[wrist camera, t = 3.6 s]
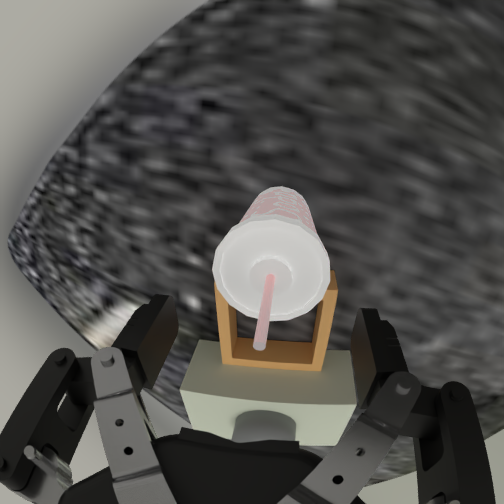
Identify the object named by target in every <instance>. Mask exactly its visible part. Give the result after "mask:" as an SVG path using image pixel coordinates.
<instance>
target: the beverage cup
mask: <svg viewBox="0 0 504 504" xmlns="http://www.w3.org/2000/svg"><path fill="white" fill-rule="evenodd" d="M212 271H213V275H214V279H215V282H216V286H217V289H218V290H219V292H220V293H221V294H222V296H223V297H224V298H225V300H226V301H227V302H228V303H229V305H231V306H232V307H234V308H235V309H237V310H238V311H240V312H242V313H243V314H245V315H246V316H249V317H253V318H257V319H258V322H257V327H256V332H255V338H254V343H253V347H254V349H256V350H259V351H261V350H264V349H265V347H266V341H267V334H268V327H269V321H281V320H290V319H292V318H295V317H298V316H300V315H303V314H305V313H308V312H309V311H310V310H311V309H312V308H313V307H314V306H315V305H316V304H318V303H319V302H320V301H321V300H322V299H323V296H324V294H325V292H326V290H327V287H328V285H329V283H330V260H329V257H328V253H327V251H326V249H325V247H324V246H323V244H322V242H321V240H320V238H319V236H318V235H317V232H316V229H315V226H314V223H313V220H312V216H311V213H310V210H309V207H308V205H307V203H306V201H305V200H304V198H303V196H301V195H300V194H299V193H297V192H296V191H295V190H293V189H290V188H286V187H283V186H281V187H272V188H269V189H267V190H265V191H263V192H262V193H260V194H259V195H258V197H257V198H256V199H255V201H254V202H253V203H252V205H251V206H250V208H249V209H248V211H247V212H246V214H245V215H244V217H243V218H242V220H241V221H240V223H239V224H237V225H235V226H234V227H232V228H231V230H230V231H229V232H228V234H227V235H226V236H225V238H224V239H223V240H222V242H221V243H220V245H219V246H218V247H217V249H216V252H215V257H214V262H213V268H212Z"/></svg>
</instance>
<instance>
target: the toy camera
mask: <svg viewBox="0 0 504 504" xmlns="http://www.w3.org/2000/svg"><path fill="white" fill-rule="evenodd" d="M214 286H215V297H216V307H217V317H218V327H219V337H220V342H216V341H208V340H200V339H199V341H198V344H197V347H196V349H195V352H194V354H193V357H192V359H191V362H190V364H189V367H188V369H187V372H186V375H185V377H184V380H183V382H182V385H181V387H180V392H181V395H182V398H183V401H184V404H185V407H186V410H187V413H188V416H189V419H190V422H191V425H192V427H193V429H194V430H200V431H205V432H210V433H213V434H215V435H218V436H220V437H223V438H228V439H232V440H231V441H234V442H237V443H244V442H253V441H261V440H269V439H271V440H288V441H300V442H299V445H315V446H333V445H336V444H337V443H338V441H339V439H340V437H341V435H342V433H343V431H344V429H345V427H346V425H347V423H348V421H349V419H350V417H351V415H352V413H353V411H354V409H355V407H356V405H357V403H356V394H355V385H354V377H353V370H352V362H351V355H350V350H326V348H327V343H328V339H329V334H330V330H331V325H332V320H333V315H334V310H335V304H336V299H337V294H338V287H337V282H336V277H335V272H334V270H330V283H329V285H328V287H327V290H326V292H325V294H324V296H323V299H322V300H321V301H320V302H319V303H318V307H317V314H316V320H315V327H314V333H313V338H312V343H310V342H291V341H276V340H267V341H266V347H265V349H264V350H261V351H259V350H256V349H254V347H253V343H254V339H251V338H241V337H237V319H236V309H235V308H234V307H232V306H231V305H229V303H228V302H227V301H226V300H225V298H224V297H223V296H222V294H221V293H220V292H219V290H218V289H217V286H216V282H214Z"/></svg>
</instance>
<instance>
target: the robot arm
mask: <svg viewBox="0 0 504 504" xmlns="http://www.w3.org/2000/svg"><path fill="white" fill-rule="evenodd" d="M177 333H178V319H177V314H176V309H175V303H174V299H173V297H172V296H169V295H159V294H155V295H154V296H153V298H152V299H151V301H150V302H149V304H144V305H142V306H141V307H139V308H138V309H137V310H135V312H134V313H133V315H132V316H131V319H129V321H128V322H127V324H126V326H125V327H124V328H123V330H122V331H121V332H120V334H119V335H118V337H117V338H116V340H115V341H114V343H113V345H112V346H111V347H106V348H102V349H100V350H98V351H97V352H96V353H95V354H94V355H93V357H84V358H76V356H75V354H74V352H73V351H72V350H70V349H68V348H60V349H58V350H55V351H54V352H52V353H51V354H50V355H49V357H48V358H47V360H46V361H45V363H44V364H43V366H42V367H41V368H40V370H39V372H38V373H37V375H36V376H35V378H34V379H33V381H32V382H31V384H30V385H29V387H28V388H27V390H26V392H25V393H24V395H23V397H22V398H21V400H20V401H19V403H18V405H17V406H16V408H15V410H14V411H13V413H12V415H11V416H10V418H9V420H8V422H7V423H6V425H5V427H4V429H3V431H2V433H1V434H0V482H1V483H2V484H3V485H5V486H6V487H7V488H8V489H10V490H11V491H13V492H14V493H16V494H18V495H19V496H21V497H22V498H24V499H25V500H27V501H30V502H32V503H34V504H365V503H364V502H363V501H362V500H361V499H360V498H359V497H358V493H359V492H360V491H361V490H362V488H363V487H364V486H365V484H366V483H367V482H368V480H369V479H370V478H371V476H372V475H373V473H374V472H375V471H376V469H377V468H378V466H379V465H380V463H381V462H382V460H383V459H384V457H385V456H386V454H387V453H388V451H389V450H390V448H391V447H392V445H393V443H394V442H395V440H396V439H397V437H398V435H403V436H408V437H413V442H414V451H415V460H416V470H417V482H418V499H419V504H496V502H495V495H494V489H493V482H492V476H491V471H490V465H489V460H488V456H487V451H486V447H485V442H484V438H483V434H482V431H481V427H480V423H479V420H478V416H477V413H476V410H475V406H474V403H473V400H472V397H471V394H470V392H469V390H468V388H467V387H466V386H465V385H463V384H462V383H459V382H455V381H451V382H448V383H446V384H444V385H443V387H442V388H441V389H436V388H430V387H426V386H422V385H421V383H420V381H419V380H418V378H417V377H416V376H414V375H413V374H411V373H409V371H408V368H407V365H406V362H405V359H404V355H403V352H402V349H401V346H400V343H399V341H398V339H397V335H396V332H395V329H394V328H393V326H392V325H391V324H390V323H389V322H388V321H387V320H380V317H379V314H378V311H377V309H372V308H359V310H358V312H357V316H356V320H355V324H354V328H353V332H352V336H351V352H352V358H353V365H354V371H355V378H356V385H357V392H358V399H359V407H360V409H366V411H365V412H364V413H362V414H361V415H360V416H359V417H358V418H357V420H356V421H355V422H354V423H353V425H352V426H351V427H350V429H349V430H348V431H347V432H346V433H345V435H344V436H343V437H342V438H341V440H340V441H339V442H338V443H337V444H336V446H335V447H334V448H333V449H332V450H331V451H330V452H329V454H328V455H327V456H326V457H325V458H324V459H322V458H321V457H319V456H318V455H316V454H314V453H312V452H310V451H307V450H304V449H300V448H299V442H300V441H288V440H271V439H269V440H261V441H253V442H244V443H237V442H234V441H231V440H228V439H225V438H223V437H220V436H218V435H215V434H213V433H210V432H205V431H200V430H194V429H189V428H184V427H182V428H181V431H180V433H179V434H175V435H168V436H163V437H160V438H158V437H157V435H156V433H155V431H154V428H153V426H152V424H151V421H150V418H149V416H148V413H147V411H146V408H145V405H144V403H143V400H142V397H141V395H140V392H141V390H142V388H148V389H152V388H153V386H154V384H155V381H156V379H157V377H158V375H159V373H160V370H161V368H162V366H163V364H164V362H165V360H166V358H167V355H168V353H169V351H170V349H171V347H172V345H173V343H174V340H175V338H176V336H177ZM65 393H66V397H65V399H64V401H63V402H62V404H61V406H60V408H59V410H58V412H57V408H58V405H59V403H60V401H61V399H62V398H63V396H64V394H65ZM94 408H95V412H96V417H97V422H98V426H99V430H100V434H101V438H102V442H103V446H104V450H105V453H106V457H107V460H108V463H109V466H108V467H106V468H104V469H103V470H101V471H99V472H97V473H95V474H93V475H92V476H90V477H88V478H86V479H84V480H82V481H80V482H78V483H76V484H74V485H72V484H73V480H72V472H71V469H70V467H69V464H70V462H71V460H72V457H73V455H74V453H75V450H76V448H77V446H78V443H79V441H80V439H81V437H82V434H83V432H84V430H85V428H86V425H87V423H88V421H89V419H90V417H91V414H92V412H93V410H94Z"/></svg>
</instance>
